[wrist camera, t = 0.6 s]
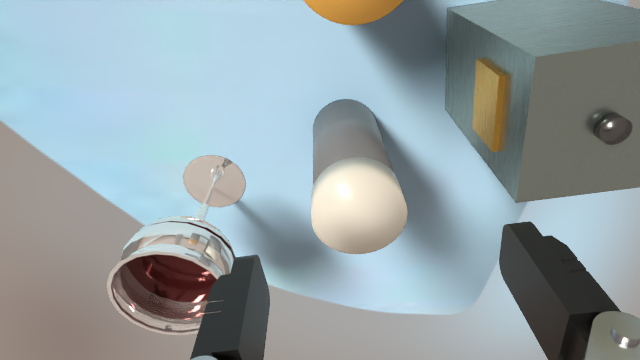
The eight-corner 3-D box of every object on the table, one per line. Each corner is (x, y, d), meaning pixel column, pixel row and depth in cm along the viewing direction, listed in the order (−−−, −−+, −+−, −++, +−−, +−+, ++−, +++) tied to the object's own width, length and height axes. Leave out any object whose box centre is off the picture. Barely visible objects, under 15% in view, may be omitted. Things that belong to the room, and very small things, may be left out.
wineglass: (213, 128, 30) (161, 228, 20) (273, 187, 33) (256, 302, 23) (153, 176, 32) (79, 290, 22) (215, 228, 35) (175, 350, 25)
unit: (442, 8, 26) (535, 62, 15) (563, -11, 25) (748, 30, 15) (441, 110, 29) (514, 210, 19) (547, 94, 29) (684, 189, 18)
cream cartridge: (306, 103, 29) (304, 183, 20) (375, 93, 29) (406, 170, 19) (317, 162, 32) (318, 258, 22) (380, 154, 31) (409, 248, 22)
